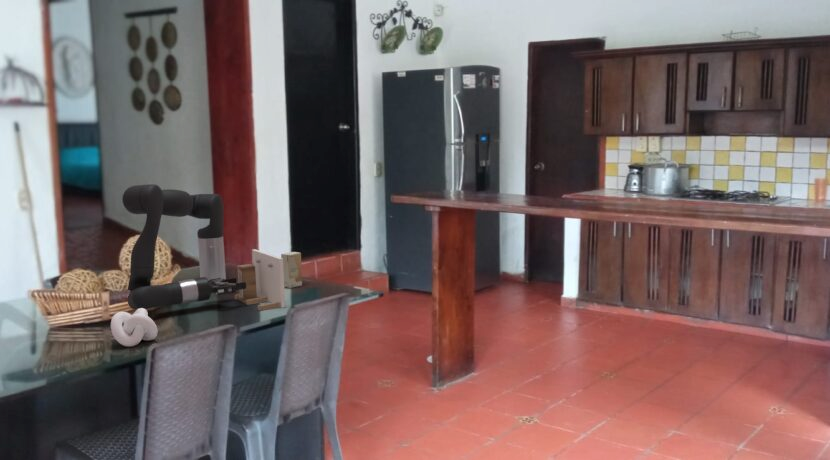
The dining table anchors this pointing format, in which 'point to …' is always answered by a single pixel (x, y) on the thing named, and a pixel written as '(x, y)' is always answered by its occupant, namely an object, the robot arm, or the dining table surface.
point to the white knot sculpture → (133, 327)
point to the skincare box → (292, 269)
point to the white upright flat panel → (268, 280)
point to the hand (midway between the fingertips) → (240, 283)
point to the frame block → (247, 282)
